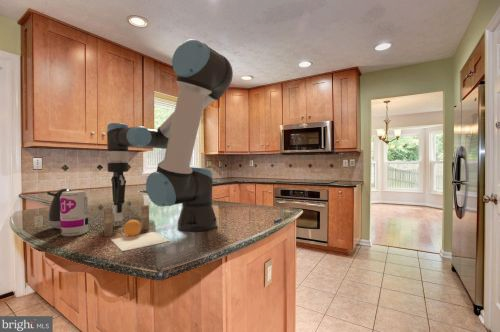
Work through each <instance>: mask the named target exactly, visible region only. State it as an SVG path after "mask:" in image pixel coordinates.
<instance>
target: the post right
mask: <svg viewBox="0 0 500 332" xmlns="http://www.w3.org/2000/svg"><path fill="white" fill-rule="evenodd" d="M149 229H150V204H142V205H141V230H144V231H145V230H149Z"/></svg>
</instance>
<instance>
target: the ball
mask: <svg viewBox="0 0 500 332" xmlns="http://www.w3.org/2000/svg"><path fill="white" fill-rule="evenodd" d="M141 230H142V223H141V222H140V221H139V220H137V219H130V220H128V221H126V223H125V224H124V226H123V232H124V234H126V236H127V237H128V236H135V235H139V234H140V233H141Z"/></svg>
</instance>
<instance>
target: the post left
mask: <svg viewBox="0 0 500 332" xmlns="http://www.w3.org/2000/svg"><path fill="white" fill-rule="evenodd" d="M113 220H114V219H113V208H104V209H103V231H104V232H103V235H104V237H110V236H113V235H114V233H113V230H114V229H113V228H114V227H113V226H114V225H113V223H114V222H113Z"/></svg>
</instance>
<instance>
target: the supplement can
mask: <svg viewBox="0 0 500 332" xmlns="http://www.w3.org/2000/svg"><path fill="white" fill-rule="evenodd" d="M59 230H60V235H62V236H63V237H75V236H80V235H84V234H86V233H87V232H88V231H89V194H88V193H87V191H86V190H71V191H66V192H62V194H61V196H60V229H59Z"/></svg>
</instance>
